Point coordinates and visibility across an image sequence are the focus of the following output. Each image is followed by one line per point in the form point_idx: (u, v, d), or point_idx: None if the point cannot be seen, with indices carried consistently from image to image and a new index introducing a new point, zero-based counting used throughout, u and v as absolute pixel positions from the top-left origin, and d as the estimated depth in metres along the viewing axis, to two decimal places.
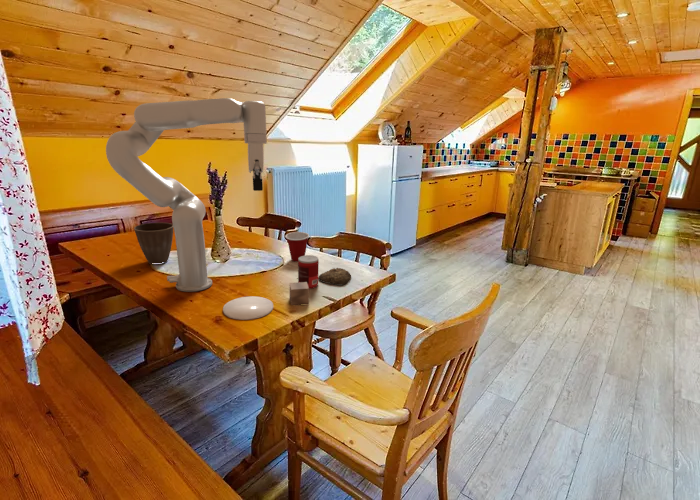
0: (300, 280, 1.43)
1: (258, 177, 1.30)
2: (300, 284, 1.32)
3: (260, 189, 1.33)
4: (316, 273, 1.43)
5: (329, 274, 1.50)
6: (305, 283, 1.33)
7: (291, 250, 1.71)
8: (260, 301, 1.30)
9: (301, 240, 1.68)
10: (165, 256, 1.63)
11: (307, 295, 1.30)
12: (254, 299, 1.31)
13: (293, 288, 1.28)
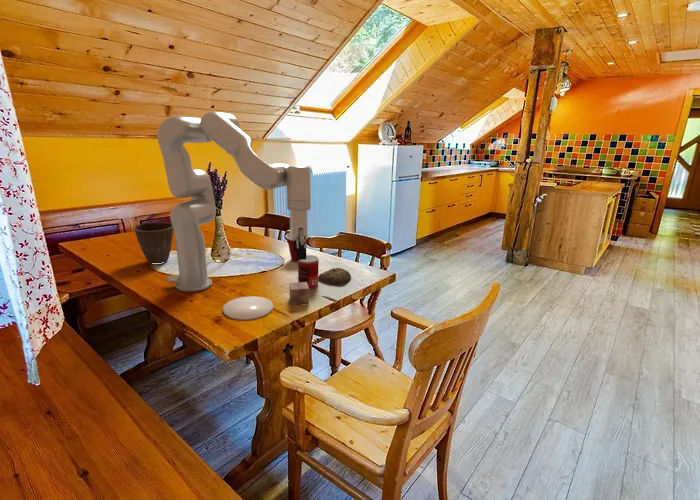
0: (300, 280, 1.43)
1: (302, 246, 1.20)
2: (300, 284, 1.32)
3: (304, 258, 1.23)
4: (316, 273, 1.43)
5: (329, 274, 1.50)
6: (305, 283, 1.33)
7: (291, 250, 1.71)
8: (260, 301, 1.30)
9: None
10: (165, 256, 1.63)
11: (307, 295, 1.30)
12: (254, 299, 1.31)
13: (293, 288, 1.28)
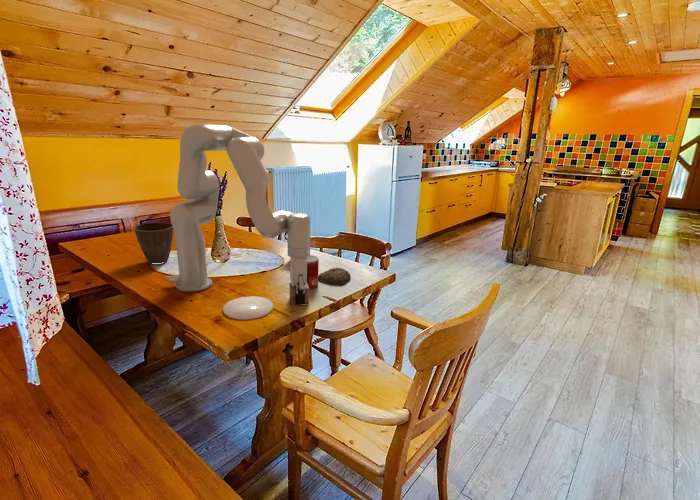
0: None
1: (301, 293, 1.27)
2: None
3: (302, 303, 1.29)
4: (316, 273, 1.43)
5: (328, 274, 1.50)
6: None
7: None
8: (260, 301, 1.30)
9: None
10: (165, 256, 1.63)
11: (307, 295, 1.30)
12: (254, 299, 1.31)
13: (293, 288, 1.28)
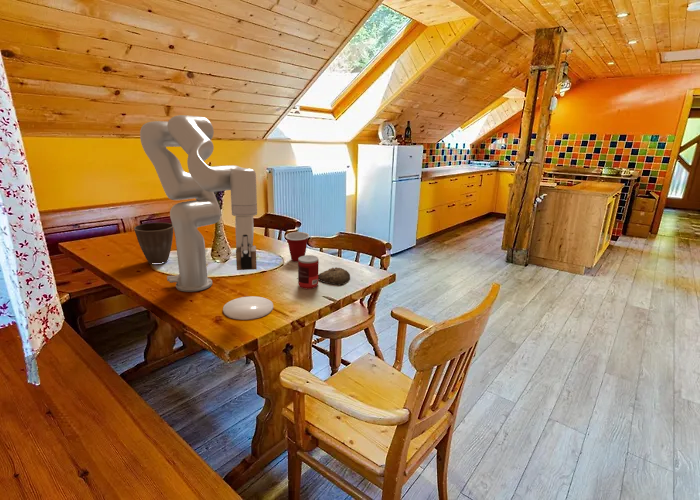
0: (300, 280, 1.43)
1: (247, 255, 1.16)
2: None
3: (249, 267, 1.19)
4: (316, 273, 1.43)
5: (328, 273, 1.51)
6: (254, 246, 1.22)
7: (291, 250, 1.71)
8: (260, 301, 1.30)
9: (301, 240, 1.68)
10: (165, 256, 1.63)
11: (254, 259, 1.19)
12: (254, 299, 1.31)
13: (239, 251, 1.18)
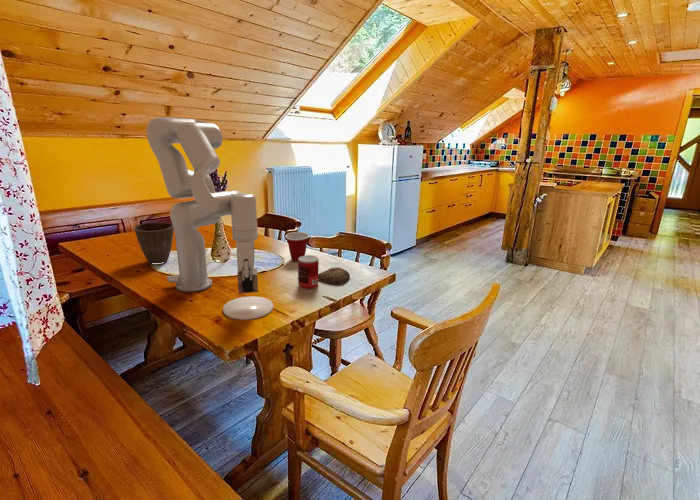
0: (300, 280, 1.43)
1: (248, 279, 1.18)
2: None
3: (250, 290, 1.20)
4: (316, 273, 1.43)
5: (328, 273, 1.51)
6: (255, 269, 1.24)
7: (291, 250, 1.71)
8: (260, 301, 1.30)
9: (301, 240, 1.68)
10: (165, 256, 1.63)
11: (255, 282, 1.21)
12: (254, 299, 1.31)
13: (240, 274, 1.20)
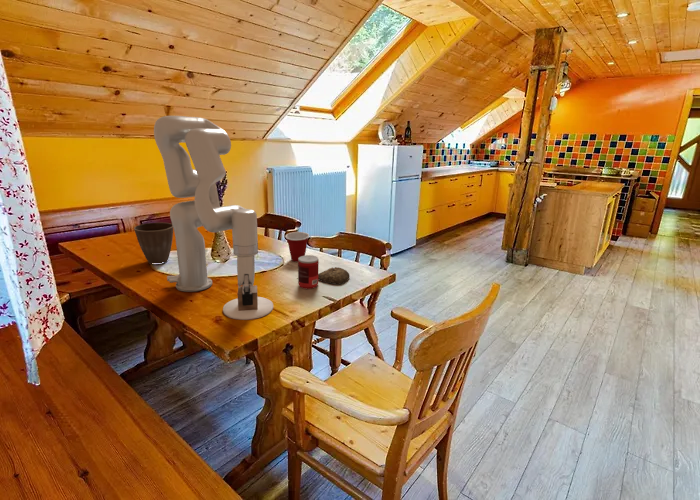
0: (300, 280, 1.43)
1: (248, 293, 1.18)
2: None
3: (250, 303, 1.20)
4: (316, 273, 1.43)
5: (327, 273, 1.51)
6: (255, 287, 1.26)
7: (291, 250, 1.71)
8: (260, 301, 1.30)
9: (301, 240, 1.68)
10: (165, 256, 1.63)
11: (255, 299, 1.23)
12: None
13: (240, 292, 1.22)
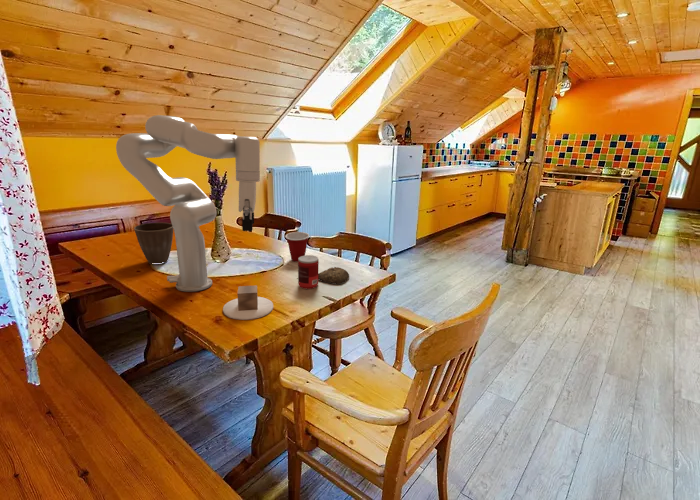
0: (300, 280, 1.43)
1: (248, 218, 1.22)
2: (249, 288, 1.25)
3: (250, 230, 1.24)
4: (316, 273, 1.43)
5: (327, 273, 1.51)
6: (255, 287, 1.26)
7: (291, 250, 1.71)
8: (260, 301, 1.30)
9: (301, 240, 1.68)
10: (165, 256, 1.63)
11: (255, 299, 1.23)
12: None
13: (240, 292, 1.22)
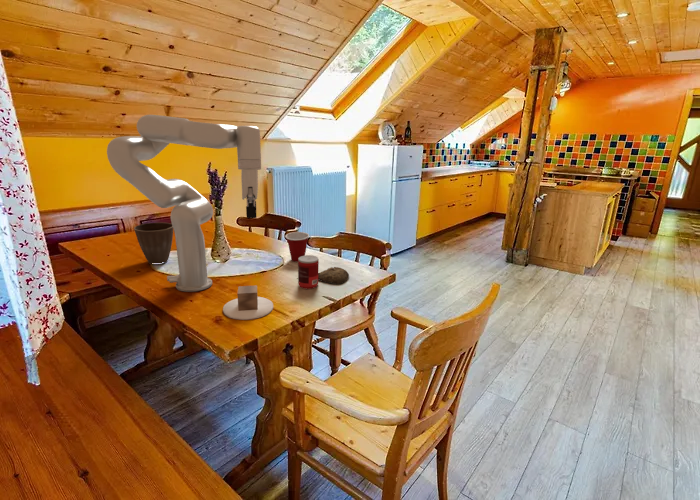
0: (300, 280, 1.43)
1: (252, 205, 1.25)
2: (249, 288, 1.25)
3: (254, 217, 1.27)
4: (316, 273, 1.43)
5: (327, 273, 1.51)
6: (255, 287, 1.26)
7: (291, 250, 1.71)
8: (260, 301, 1.30)
9: (301, 240, 1.68)
10: (165, 256, 1.63)
11: (255, 299, 1.23)
12: None
13: (240, 292, 1.22)
